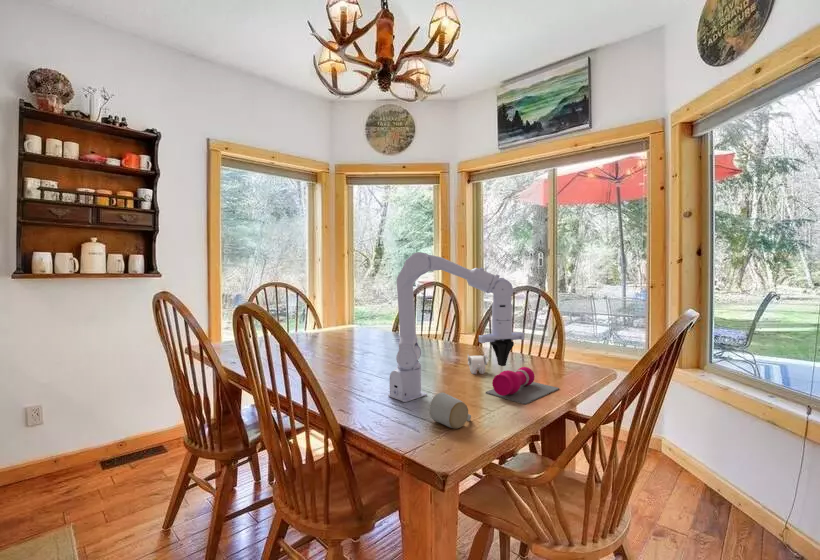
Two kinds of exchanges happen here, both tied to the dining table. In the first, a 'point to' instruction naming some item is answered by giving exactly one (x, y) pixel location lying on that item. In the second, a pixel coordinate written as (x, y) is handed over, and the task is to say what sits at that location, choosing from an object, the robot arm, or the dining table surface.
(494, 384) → the pepper mill
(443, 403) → the ceramic mug
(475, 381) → the dining table surface
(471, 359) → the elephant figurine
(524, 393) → the mat
